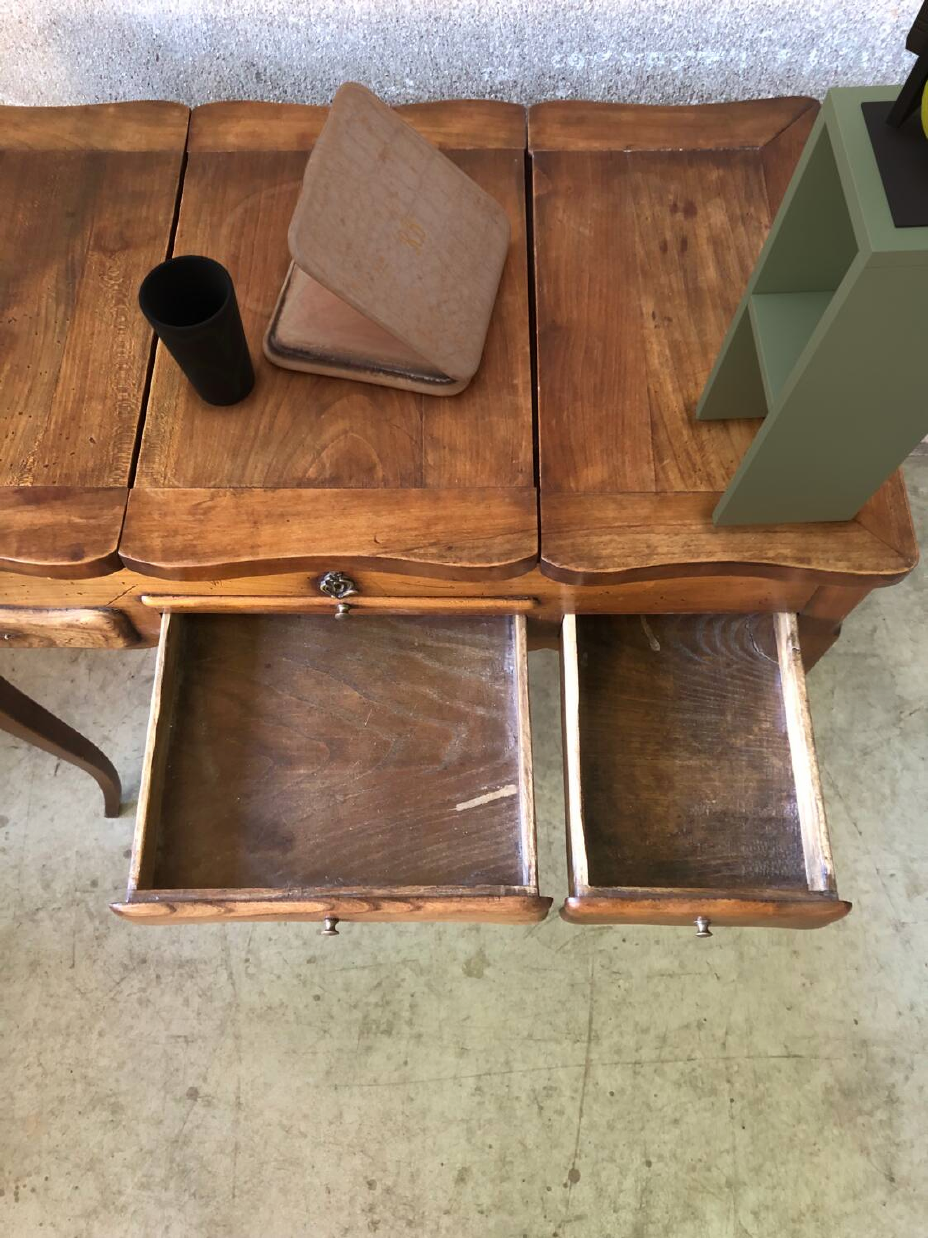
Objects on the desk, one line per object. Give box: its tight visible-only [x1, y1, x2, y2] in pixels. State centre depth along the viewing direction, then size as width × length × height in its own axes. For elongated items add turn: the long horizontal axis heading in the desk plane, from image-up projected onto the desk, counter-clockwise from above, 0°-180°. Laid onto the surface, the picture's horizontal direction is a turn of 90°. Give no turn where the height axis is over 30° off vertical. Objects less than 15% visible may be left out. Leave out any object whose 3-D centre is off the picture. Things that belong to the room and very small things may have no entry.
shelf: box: [694, 84, 928, 527], centre depth 62 cm, size 12×12×32 cm
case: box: [261, 81, 512, 397], centre depth 77 cm, size 20×21×16 cm
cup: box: [137, 254, 256, 407], centre depth 75 cm, size 8×8×12 cm
